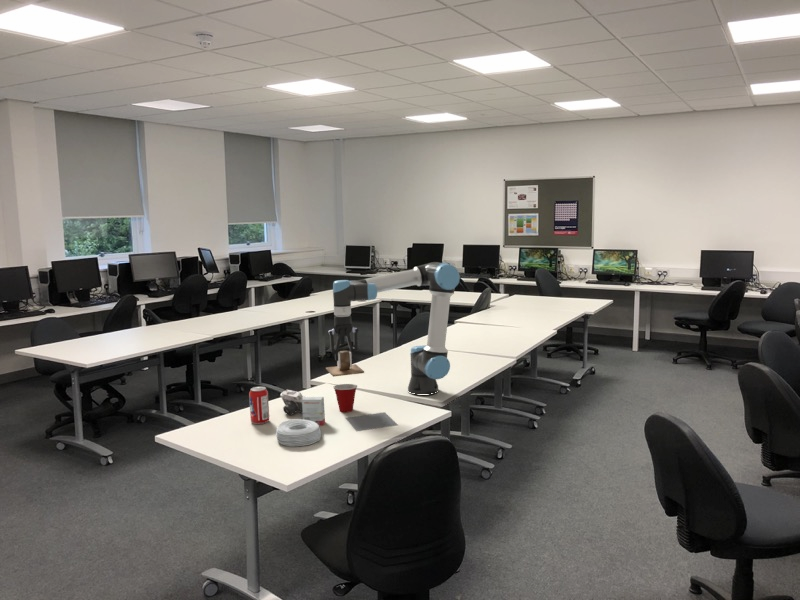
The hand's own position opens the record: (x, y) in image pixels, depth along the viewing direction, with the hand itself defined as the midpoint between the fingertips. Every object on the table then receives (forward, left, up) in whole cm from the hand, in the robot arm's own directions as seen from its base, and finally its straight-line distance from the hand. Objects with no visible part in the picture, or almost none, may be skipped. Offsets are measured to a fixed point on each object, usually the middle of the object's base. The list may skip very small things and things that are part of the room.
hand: (344, 366), depth 267 cm
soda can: (+38, -1, -21) cm, 43 cm away
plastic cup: (0, 0, -21) cm, 21 cm away
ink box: (+17, +12, -21) cm, 29 cm away
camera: (+23, -8, -21) cm, 32 cm away
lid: (0, 0, -2) cm, 2 cm away
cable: (+26, +26, -21) cm, 42 cm away
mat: (-6, +19, -20) cm, 28 cm away
